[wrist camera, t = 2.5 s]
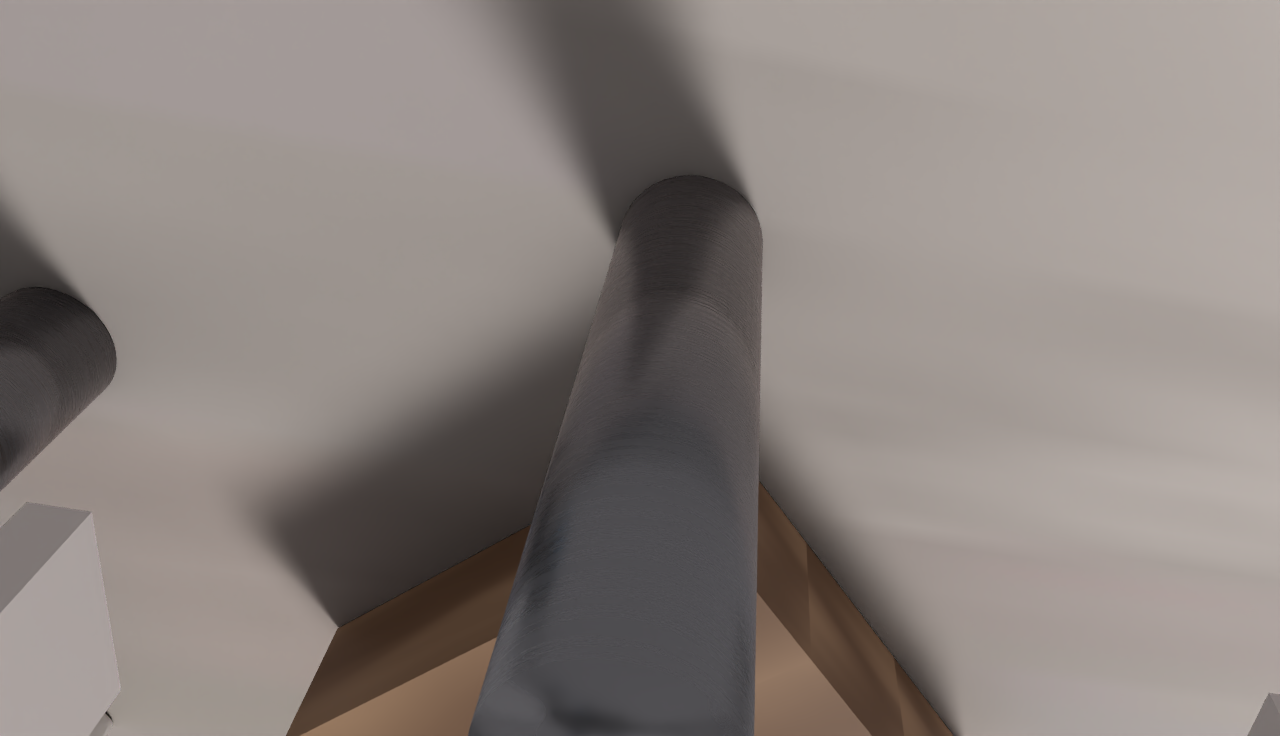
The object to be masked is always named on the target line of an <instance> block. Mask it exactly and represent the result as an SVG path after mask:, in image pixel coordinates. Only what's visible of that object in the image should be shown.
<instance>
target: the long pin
mask: <svg viewBox="0 0 1280 736" xmlns="http://www.w3.org/2000/svg"><path fill="white" fill-rule="evenodd" d="M762 251H763V239H762V231H761V227H760V223H759V221H758V219H757V216H756V214H755V212H754V211H753V209H752V207H751V206H750V205H749V203H748V202H747V201H746V200H745V199H744V198H743V197H742V196H741V195H740V194H739V193H738V192H736V191H735V190H734V189H732V188H731V187H729V186H727V185H726V184H724V183H722V182H719V181H717V180H714V179H710V178H707V177H701V176H679V177H673V178H669V179H666V180H663V181H661V182H658V183H656V184H655V185H653V186H651V187H649V188H648V189H647V190H645V191H644V192H643V193H642V194H640V195H639V196H638V197H637V198H636V199H635V201H634V202H633V203H632V205H631V206H630V208H629V209H628V211H627V213H626V215H625V217H624V220H623V223H622V226H621V229H620V233H619V236H618V239H617V243H616V246H615V249H614V252H613V256H612V259H611V262H610V266H609V269H608V272H607V276H606V279H605V282H604V285H603V289H602V292H601V295H600V299H599V302H598V305H597V309H596V312H595V315H594V319H593V322H592V325H591V328H590V332H589V335H588V338H587V342H586V345H585V348H584V352H583V355H582V358H581V361H580V365H579V368H578V371H577V375H576V378H575V381H574V385H573V388H572V391H571V395H570V398H569V401H568V404H567V408H566V411H565V414H564V418H563V421H562V424H561V428H560V431H559V434H558V437H557V441H556V444H555V447H554V451H553V454H552V457H551V461H550V464H549V467H548V471H547V474H546V477H545V480H544V484H543V487H542V490H541V494H540V497H539V500H538V504H537V507H536V510H535V513H534V517H533V520H532V523H531V527H530V530H529V533H528V537H527V540H526V543H525V546H524V550H523V553H522V556H521V560H520V563H519V566H518V570H517V573H516V576H515V580H514V583H513V586H512V589H511V593H510V596H509V599H508V603H507V606H506V609H505V613H504V616H503V619H502V622H501V626H500V629H499V632H498V636H497V639H496V642H495V646H494V649H493V652H492V656H491V659H490V662H489V665H488V669H487V672H486V675H485V679H484V682H483V685H482V689H481V692H480V695H479V698H478V702H477V705H476V708H475V712H474V715H473V718H472V722H471V725H470V729H469V733H468V736H754V719H755V661H756V602H757V544H758V485H759V427H760V368H761V310H762Z"/></svg>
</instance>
